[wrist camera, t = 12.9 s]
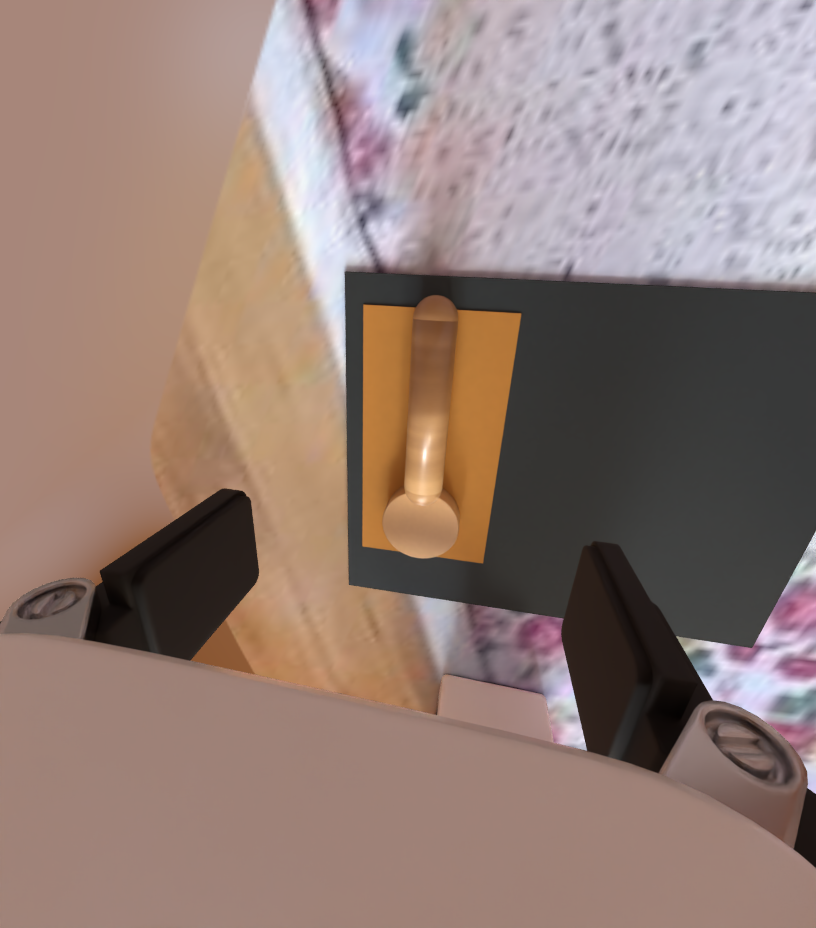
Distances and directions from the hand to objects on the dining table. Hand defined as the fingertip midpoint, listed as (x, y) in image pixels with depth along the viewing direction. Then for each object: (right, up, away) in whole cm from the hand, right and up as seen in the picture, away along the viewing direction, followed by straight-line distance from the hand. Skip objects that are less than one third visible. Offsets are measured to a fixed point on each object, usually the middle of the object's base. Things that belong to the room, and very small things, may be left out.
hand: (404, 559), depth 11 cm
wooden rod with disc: (+1, +4, +12) cm, 12 cm away
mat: (+9, +2, +11) cm, 15 cm away
